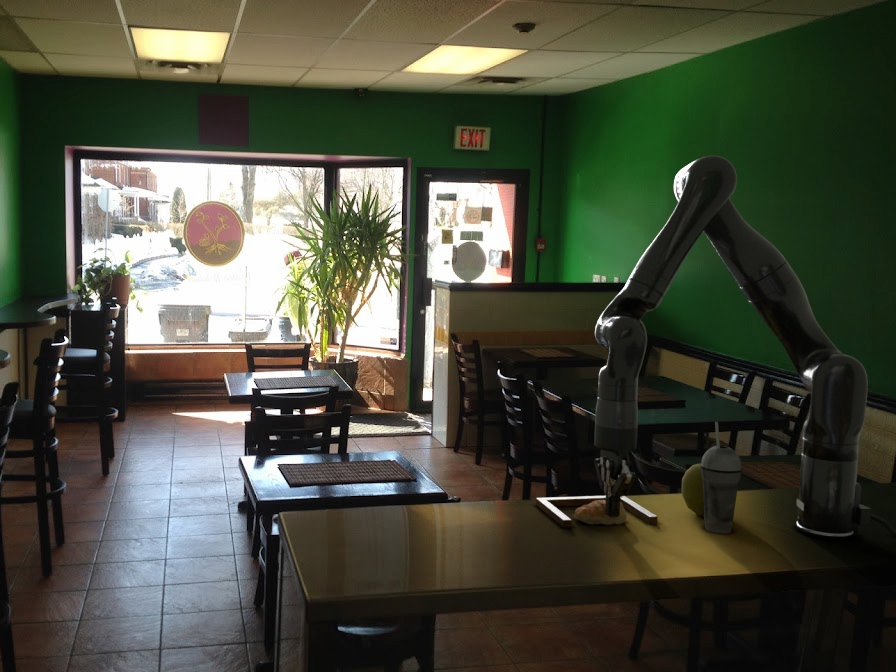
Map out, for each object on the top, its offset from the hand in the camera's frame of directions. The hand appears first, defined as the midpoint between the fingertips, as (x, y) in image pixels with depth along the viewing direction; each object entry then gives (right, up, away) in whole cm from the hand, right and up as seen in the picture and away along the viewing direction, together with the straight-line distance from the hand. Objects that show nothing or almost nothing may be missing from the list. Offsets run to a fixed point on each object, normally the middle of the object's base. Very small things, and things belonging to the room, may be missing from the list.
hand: (612, 515), depth 164 cm
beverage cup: (+20, -3, 0) cm, 20 cm away
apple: (+21, -2, +9) cm, 23 cm away
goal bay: (-1, -2, +7) cm, 8 cm away
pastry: (-1, -2, +4) cm, 5 cm away
